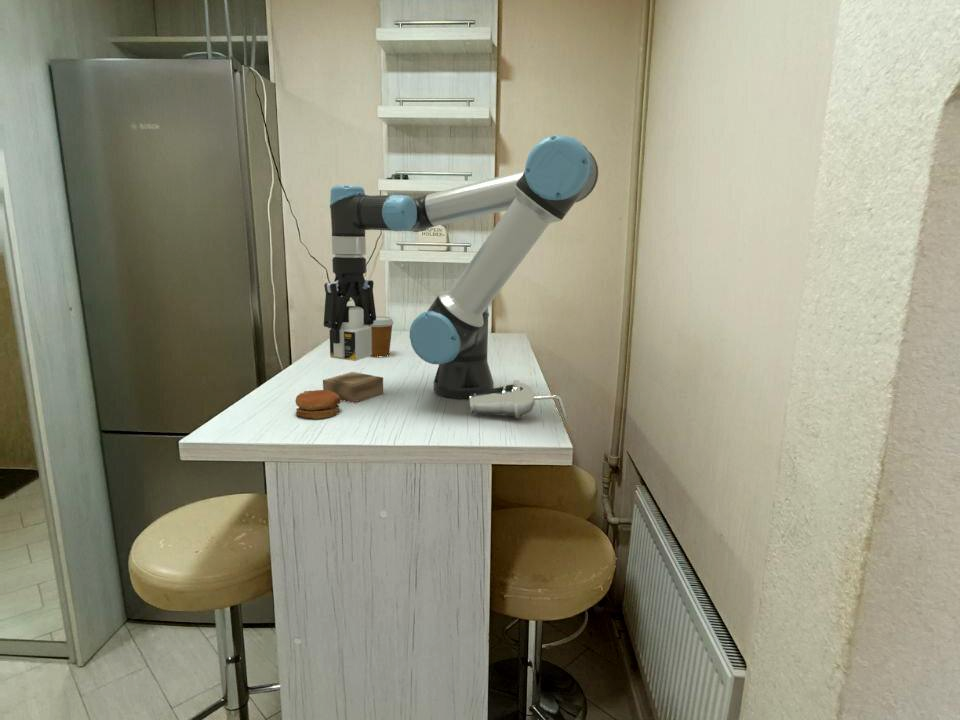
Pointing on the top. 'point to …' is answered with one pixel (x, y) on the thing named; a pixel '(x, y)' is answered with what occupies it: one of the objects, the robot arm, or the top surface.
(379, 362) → the top surface
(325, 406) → the burger
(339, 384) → the plinth
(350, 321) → the medicine bottle
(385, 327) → the disposable coffee cup
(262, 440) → the top surface
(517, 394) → the cup with straw
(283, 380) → the top surface
